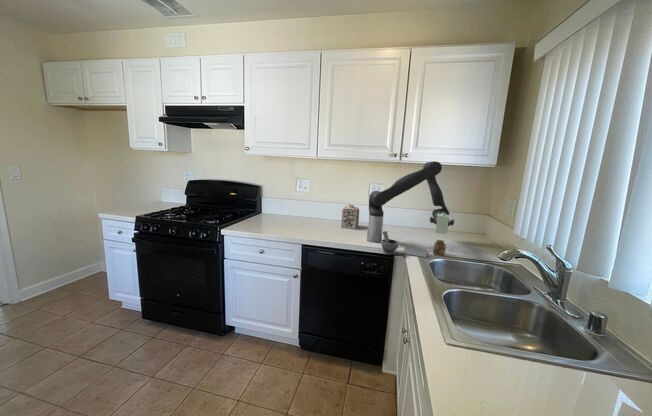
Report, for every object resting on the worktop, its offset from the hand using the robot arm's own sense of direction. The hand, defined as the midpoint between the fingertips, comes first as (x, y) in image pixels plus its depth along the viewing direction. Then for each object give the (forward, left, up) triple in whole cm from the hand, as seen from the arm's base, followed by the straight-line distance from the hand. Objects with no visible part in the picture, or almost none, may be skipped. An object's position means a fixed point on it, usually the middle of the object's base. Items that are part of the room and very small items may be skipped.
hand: (442, 223), depth 155 cm
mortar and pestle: (-28, -8, -19) cm, 35 cm away
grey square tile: (-13, -1, -19) cm, 23 cm away
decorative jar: (-65, +39, -19) cm, 78 cm away
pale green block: (0, +2, -6) cm, 6 cm away
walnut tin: (0, +3, -19) cm, 19 cm away
